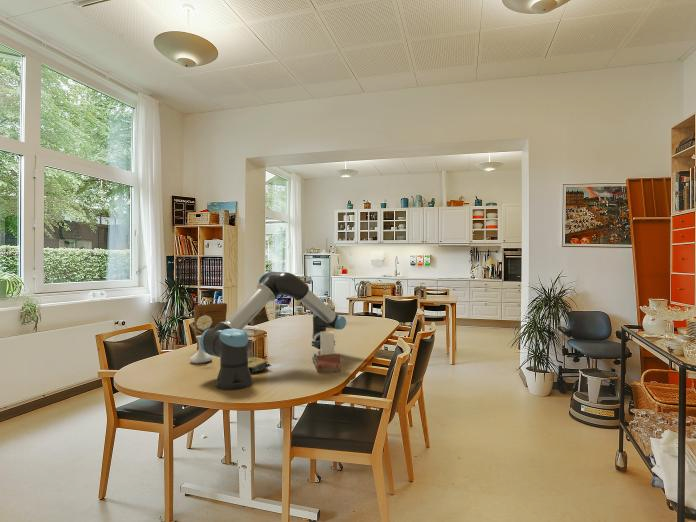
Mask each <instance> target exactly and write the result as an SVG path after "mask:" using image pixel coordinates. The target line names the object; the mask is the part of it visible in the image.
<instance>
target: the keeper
mask: <svg viewBox="0 0 696 522" xmlns="http://www.w3.org/2000/svg"><path fill="white" fill-rule="evenodd" d="M334 340H335V333H334V332H333V330H328V331H327V330H326V331H322V332H320V354H319V355H329V354H335V345H334Z"/></svg>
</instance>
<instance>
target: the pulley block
mask: <svg viewBox="0 0 696 522" xmlns="http://www.w3.org/2000/svg"><path fill="white" fill-rule="evenodd" d="M248 367H249V370H250V373H251V374H252V373H253V374H254V373H255V372H258V371H259V372H260V371H264V370H265V369H267V368H269V367H272V364H270V363H269V361H266V360H265V359H264V358H260V357H254V356H249V355H248Z"/></svg>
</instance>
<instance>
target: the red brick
mask: <svg viewBox="0 0 696 522" xmlns="http://www.w3.org/2000/svg"><path fill="white" fill-rule="evenodd" d="M311 357H312V359H311V360H313V361H312V363H313V365H315V366H314V368H315V371H316V370H317V371H316V373H317V372H323V373H332V372H331V371H339V372H341V354H340V353H334V354H329V355H320V354H316V353H313V356H311Z"/></svg>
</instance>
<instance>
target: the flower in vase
mask: <svg viewBox="0 0 696 522" xmlns="http://www.w3.org/2000/svg"><path fill="white" fill-rule="evenodd" d="M196 324H197V326H198V327H197V328H199V329H202V330H206V328H209V327H210V325H211V324H212V319H211V318H210V317H209V316H206V315H205V316H202V317H201V318H199V319H198V320H197V322H196ZM196 331H197V330H196ZM198 332H199V331H198ZM200 333H201V332H200ZM201 336H202V335H200V336H196V335H195V339H196V338H197V339H198V343H199V349H198V351H197V350H196V352H195V353H194V354H193V355H191V357H190V359H189V361H190V362H191V363H194V364H202V363H209V362H210V361H212V359H213V355H209V354H207V353H205V352H204V351H203V350H202V348H201V346H200V338H201Z"/></svg>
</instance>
